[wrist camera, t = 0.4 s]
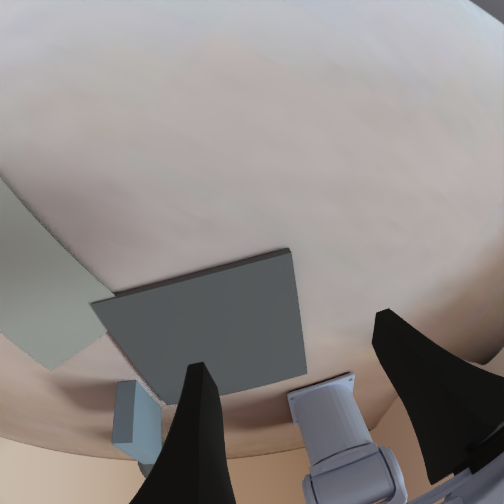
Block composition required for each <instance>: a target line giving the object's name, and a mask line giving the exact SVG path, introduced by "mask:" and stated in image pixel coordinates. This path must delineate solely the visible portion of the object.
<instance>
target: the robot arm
mask: <svg viewBox="0 0 504 504" xmlns="http://www.w3.org/2000/svg"><path fill="white" fill-rule="evenodd" d="M372 345H373V348H374V350H375V352H376V355H377V357H378V359H379V362H380V364H381V365H382V367H383V369H384V371H385V372H386V374H387V376H388V378H389V379H390V381H391V383H392V384H393V386H394V388H395V390H396V391H397V393H398V395H399V397H400V398H401V400H402V402H403V404H404V406H405V408H406V410H407V412H408V415H409V417H410V420H411V422H412V425H413V428H414V430H415V433H416V436H417V438H418V442H419V445H420V448H421V451H422V455H423V458H424V462H425V466H426V471H427V476H428V479H429V482H430V484H431V485H433V484H435V483H437V482H438V481H440V480H442V479H444V478H445V477H447V476H449V475H450V474H452V473H454V477H453V478H451V479H449V480H448V481H446V482H444V483H443V484H441V485H439V486H438V487H436V488H435V489H432V490H431V491H429V492H427V493H425V494H423V495H421V496H420V497H418V498H416V499H414V500H412V501H410V502H408V503H406V502H407V496H408V494H407V491H406V489H405V486H404V479H403V475H402V472H401V469H400V467H399V464H398V462H397V460H396V458H395V456H394V454H393V452H392V451H391V449H390V448H388V447H385V446H380V447H377V444H376V442H373V441H372V439H371V436H370V434H369V432H368V429H367V427H366V425H365V422H364V420H363V418H362V415H361V413H360V411H359V409H358V406H357V404H356V402H355V399H354V397H353V395H352V392H353V385H354V378H355V375H354V373H348V374H346V375H343V376H340V377H337V378H334V379H331V380H328V381H325V382H322V383H319V384H316V385H313V386H309V387H306V388H303V389H299V390H296V391H293V392H289V393H288V394H287V398H288V402H289V406H290V410H291V415H292V419H293V423H294V425H295V426H297V425H299V428H300V431H301V435H302V438H303V441H304V444H305V448H306V451H307V454H308V457H309V461H310V464H311V467H309V471H310V474H307V475H305V478H304V480H303V482H302V488H303V493H304V497H305V500H306V504H372V503H374V502H376V501H379V500H381V499H383V498H386V497H387V498H386V499H385V500H383V501H382V502H379V503H377V504H433V503H435V502H436V501H438V500H440V499H442V498H443V497H445V496H446V497H445V500H444V502H442V503H440V504H504V377H502V376H499V375H495V374H493V373H490V372H488V371H485V370H483V369H480V368H478V367H476V366H473V365H471V364H469V363H467V362H465V361H464V360H462V359H460V358H458V357H456V356H455V355H453V354H451V353H450V352H448V351H446V350H445V349H443V348H442V347H440V346H439V345H437V344H436V343H434V342H433V341H431V340H430V339H429V338H427V337H426V336H424V335H423V334H422V333H420V332H419V331H418V330H416V329H415V328H414V327H412V326H411V325H410V324H408V323H407V322H406V321H405V320H403V319H402V318H401V317H399V316H398V315H397V314H396V313H394V312H393V311H392V310H390V309H389V308H388V309H385V310H382V311H380V312H377V313H376V317H375V325H374V332H373V338H372ZM129 504H236V501H235V497H234V494H233V489H232V485H231V481H230V477H229V472H228V467H227V461H226V454H225V442H224V430H223V417H222V408H221V402H220V397H219V392H218V387H217V385H216V384H215V382H214V380H213V378H212V376H211V375H210V373H209V371H208V369H207V367H206V365H205V363H204V362H198V363H194V364H189V365H188V366H187V370H186V375H185V380H184V384H183V388H182V392H181V396H180V399H179V403H178V406H177V409H176V413H175V416H174V419H173V422H172V424H171V427H170V430H169V433H168V435H167V438H166V440H165V443H164V445H163V447H162V449H161V452H160V454H159V456H158V458H157V460H156V462H155V464H154V466H153V468H152V469H151V471H150V473H149V475H148V477H147V478H146V480H145V481H144V483H143V485H142V486H141V488H140V489H139V491H138V493H137V494H136V495H135V496H134V498H133V499H132V500H131V502H130V503H129Z"/></svg>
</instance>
